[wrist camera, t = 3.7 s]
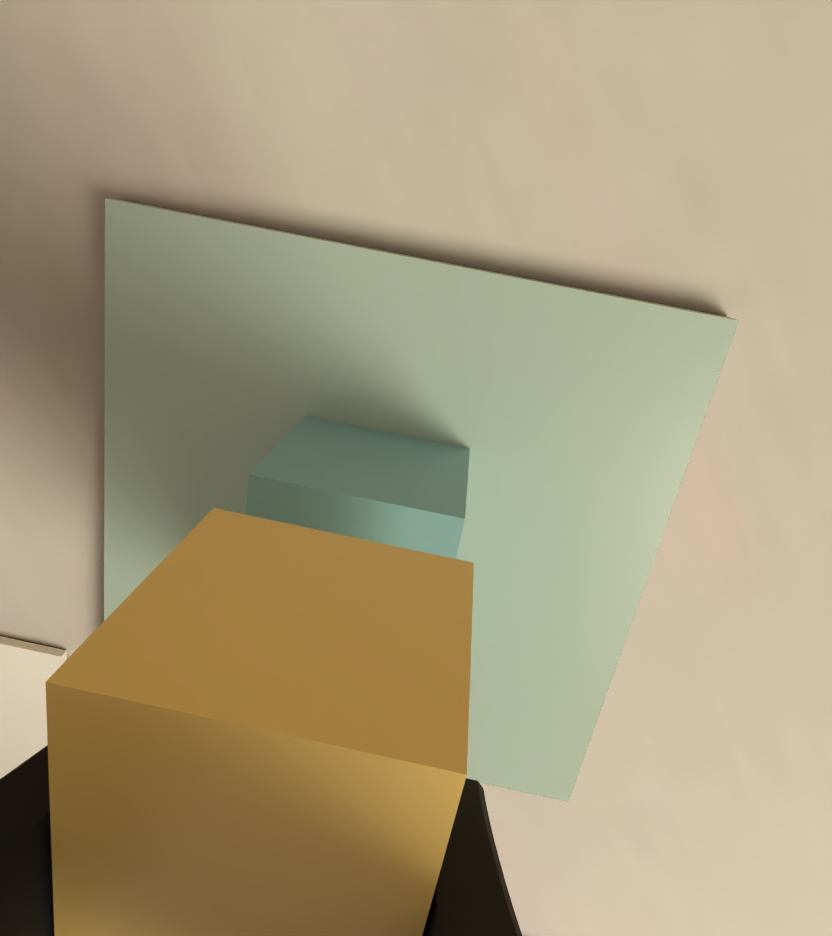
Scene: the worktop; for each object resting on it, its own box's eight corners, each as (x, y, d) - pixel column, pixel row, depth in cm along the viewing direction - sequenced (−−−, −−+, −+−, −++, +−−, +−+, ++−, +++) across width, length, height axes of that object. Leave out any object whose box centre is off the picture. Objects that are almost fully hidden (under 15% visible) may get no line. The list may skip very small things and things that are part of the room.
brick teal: (424, 654, 17) (408, 769, 14) (280, 623, 18) (225, 729, 14) (469, 448, 15) (465, 519, 12) (305, 415, 15) (248, 474, 12)
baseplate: (565, 785, 19) (568, 802, 19) (114, 687, 20) (103, 700, 19) (729, 316, 14) (739, 320, 14) (119, 199, 15) (105, 198, 14)
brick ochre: (404, 845, 12) (367, 1132, 8) (192, 798, 12) (58, 1060, 8) (474, 562, 10) (466, 774, 6) (213, 508, 10) (44, 681, 6)
